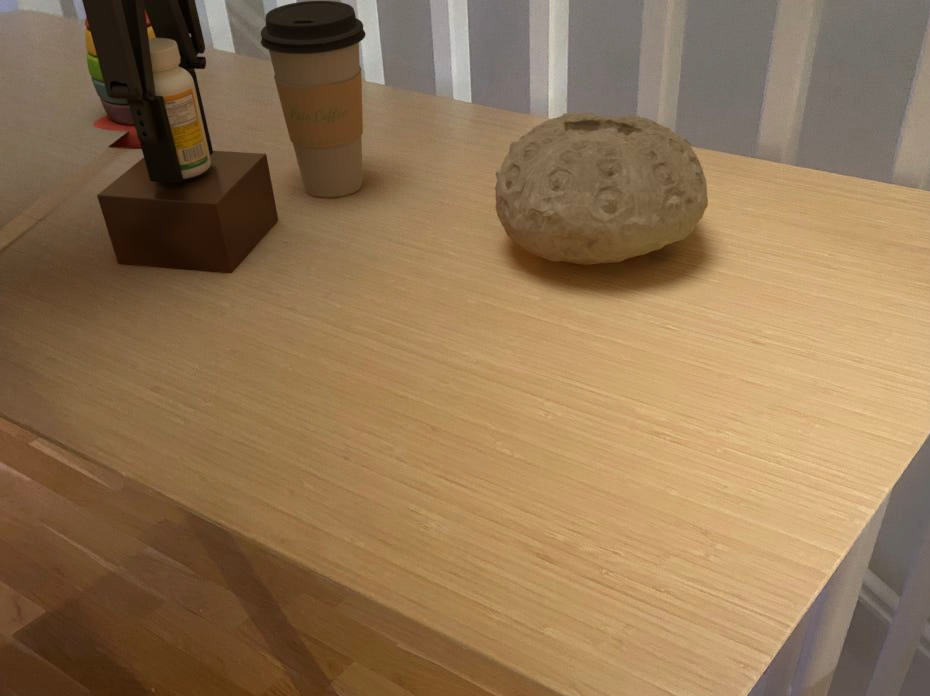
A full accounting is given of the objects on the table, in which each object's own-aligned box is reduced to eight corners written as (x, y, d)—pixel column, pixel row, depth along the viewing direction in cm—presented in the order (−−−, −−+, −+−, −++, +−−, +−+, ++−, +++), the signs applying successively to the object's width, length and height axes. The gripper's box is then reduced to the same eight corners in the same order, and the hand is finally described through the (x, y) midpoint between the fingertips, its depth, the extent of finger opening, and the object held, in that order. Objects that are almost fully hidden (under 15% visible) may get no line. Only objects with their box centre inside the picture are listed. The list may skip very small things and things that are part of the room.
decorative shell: (593, 187, 95) (598, 73, 88) (743, 243, 86) (762, 120, 79) (456, 247, 87) (449, 127, 80) (604, 316, 78) (612, 187, 71)
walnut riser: (117, 263, 88) (96, 195, 83) (172, 212, 95) (155, 146, 91) (231, 273, 85) (215, 203, 81) (278, 219, 93) (266, 153, 88)
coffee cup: (302, 212, 94) (272, 34, 83) (275, 178, 100) (244, 7, 89) (394, 193, 96) (377, 17, 85) (362, 160, 102) (343, -8, 91)
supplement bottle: (204, 180, 84) (175, 54, 77) (142, 182, 84) (108, 56, 77) (218, 156, 87) (192, 33, 80) (159, 157, 88) (127, 35, 81)
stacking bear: (144, 111, 115) (96, -74, 102) (214, 122, 112) (173, -68, 99) (81, 143, 109) (21, -50, 96) (153, 155, 105) (101, -42, 92)
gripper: (78, -158, 62) (174, 213, 79) (203, -198, 74) (263, 130, 91) (-26, -157, 63) (90, 207, 80) (113, -196, 76) (189, 126, 92)
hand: (182, 166), depth 85 cm, fingers closed on supplement bottle, 5 cm apart
